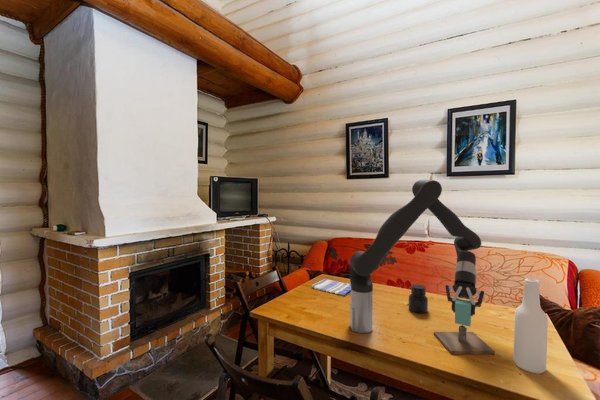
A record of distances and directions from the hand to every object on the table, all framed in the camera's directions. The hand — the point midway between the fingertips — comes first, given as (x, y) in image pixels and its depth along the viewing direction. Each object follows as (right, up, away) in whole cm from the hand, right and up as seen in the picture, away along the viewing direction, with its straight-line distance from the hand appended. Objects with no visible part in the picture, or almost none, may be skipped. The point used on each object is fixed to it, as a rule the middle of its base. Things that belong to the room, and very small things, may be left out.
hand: (462, 313), depth 110 cm
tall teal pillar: (+1, -4, +2) cm, 5 cm away
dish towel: (-42, -11, +64) cm, 78 cm away
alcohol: (+16, -14, -12) cm, 24 cm away
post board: (+1, -13, +2) cm, 13 cm away
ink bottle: (-4, -12, +33) cm, 35 cm away
